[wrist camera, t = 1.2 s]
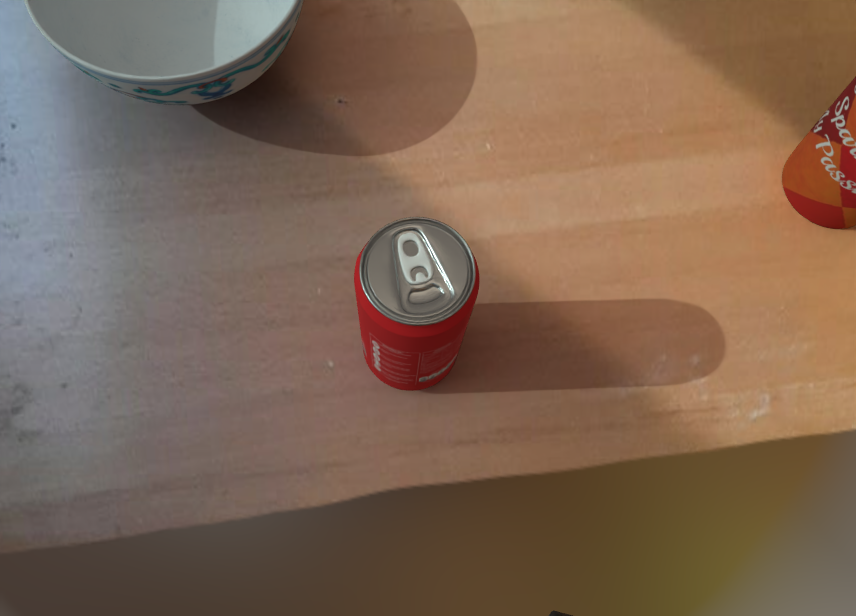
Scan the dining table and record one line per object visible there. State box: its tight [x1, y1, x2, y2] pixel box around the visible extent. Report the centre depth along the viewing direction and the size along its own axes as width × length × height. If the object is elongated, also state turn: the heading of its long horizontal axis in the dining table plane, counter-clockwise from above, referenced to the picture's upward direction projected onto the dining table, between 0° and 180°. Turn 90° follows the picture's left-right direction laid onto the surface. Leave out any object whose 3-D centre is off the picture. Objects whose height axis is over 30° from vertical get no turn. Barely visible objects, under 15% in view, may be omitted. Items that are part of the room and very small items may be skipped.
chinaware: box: [24, 0, 303, 105], centre depth 43 cm, size 15×15×8 cm
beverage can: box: [354, 217, 479, 390], centre depth 35 cm, size 5×5×12 cm
